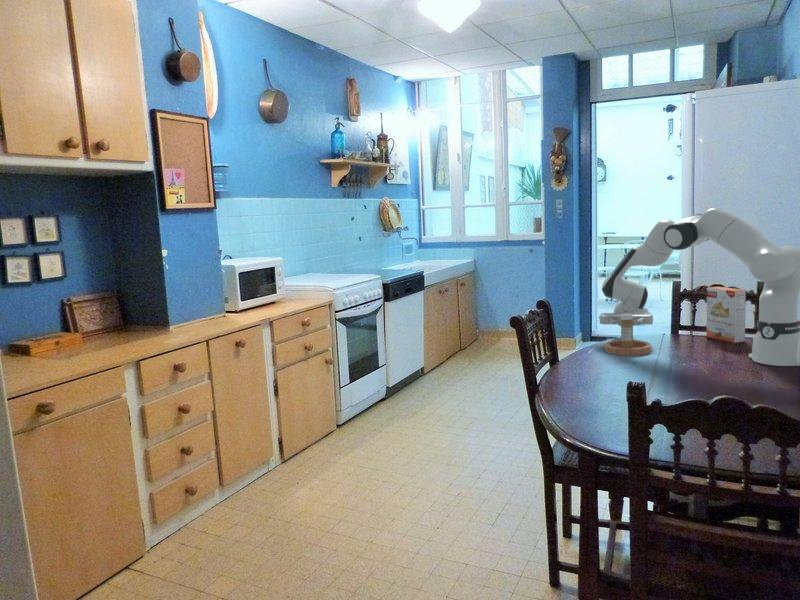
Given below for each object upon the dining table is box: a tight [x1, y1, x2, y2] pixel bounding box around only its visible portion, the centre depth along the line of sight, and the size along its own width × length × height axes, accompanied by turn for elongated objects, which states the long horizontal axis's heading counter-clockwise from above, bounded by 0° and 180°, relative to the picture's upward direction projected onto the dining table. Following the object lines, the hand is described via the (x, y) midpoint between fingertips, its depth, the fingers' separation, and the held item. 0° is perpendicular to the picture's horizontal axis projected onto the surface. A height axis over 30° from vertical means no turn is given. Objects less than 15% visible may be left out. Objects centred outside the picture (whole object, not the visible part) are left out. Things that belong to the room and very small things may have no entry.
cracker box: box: [706, 286, 747, 344], centre depth 239 cm, size 14×6×21 cm, turn 17°
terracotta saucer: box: [603, 339, 652, 357], centre depth 233 cm, size 17×17×2 cm
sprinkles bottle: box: [620, 313, 634, 348], centre depth 232 cm, size 5×5×14 cm
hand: (626, 322), depth 236 cm, fingers open, 8 cm apart
